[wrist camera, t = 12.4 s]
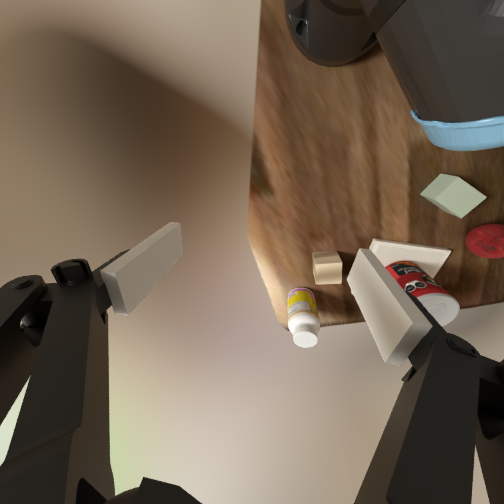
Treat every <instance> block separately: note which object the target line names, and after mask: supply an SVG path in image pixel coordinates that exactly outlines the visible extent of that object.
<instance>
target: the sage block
mask: <svg viewBox="0 0 504 504" xmlns="http://www.w3.org/2000/svg"><path fill="white" fill-rule="evenodd" d="M420 195H422V196H423V197H425V198H426V199H428V200H429V201H431V202H432V203H433V204H435V205H436V206H438V207H439V208H441V209H442V210H444V211H445V212H448V213H450V214H452V215H455V216H457V217H459V218H463V217H464V216H465V215H466V214H467V213H469V212H470V211H471V210H472V209H473V208H475V207H476V206H477V205H478V204H480V203H481V202H482V201H483V200H484V199H486V198H487V197H486V196H484V195H483V194H482V193H480V192H479V191H477V190H476V189H475V188H473V187H472V186H470V185H469V184H468V183H466V182H465V181H464V180H462V179H461V178H459V177H457V176H452V175H446V174H440V175H439V176H438V177H437V178H436V179H435V180H434V181H433V182H432V183H431V184H430V185H429V186H428V187H427V188H426V189H425V190H424V191H423V192H422V193H421V194H420Z"/></svg>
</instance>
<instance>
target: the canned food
mask: <svg viewBox="0 0 504 504" xmlns="http://www.w3.org/2000/svg"><path fill="white" fill-rule="evenodd" d="M385 268H386V269H387V270H388V272H389V273H390V274H391V275H392V277H393V278H394V279H395V280H396V281H397V283H398V284H399V285H400V286H401V288H402V289H403V290H404V291H408V292H410V293H411V294H412V295H414V296H415V297H416V298H418V300H419V301H420V302H421V303H422V304H423V307H425V308H426V309H427V310H428V313H430V314H431V315H432V316H433V317H434V318H435V319H436V321H437V322H438V323H439V324H440V325H441V326H444V325H447V324H448V323H450V322H451V321H452V320H454V319H455V318H456V316H457V315H458V313H459V310H460V307H459V304H458V302H457V301H456V300H455V299H454V298H453V297H452V296H451V295H450V294H449V293H448V292H447V291H446V290H445V289H444V288H443V287H441V286H440V285H439V284H438V283H437V282H436V281H435V280H434V279H433V278H431V277H430V276H429V275H428V274H427V273H426V272H425V271H424V270H423V269H421V268H420V267H419V266H418V265H417V264H415V263H412V262H409V261H397V262H394V263H391V264H389V265H388V266H386V267H385Z"/></svg>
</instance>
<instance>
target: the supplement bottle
mask: <svg viewBox="0 0 504 504" xmlns="http://www.w3.org/2000/svg"><path fill="white" fill-rule="evenodd" d="M288 327H289V330H290V332H291V333H292V334H293V339H294V342H295V344H296V345H298V346H300V347H304V348H309V347H312V346H314V345H316V344H317V341H318V337H317V333H318V332H319V330H320V321H319V316H318V311H317V306H316V301H315V297H314V294H313V293H312V291H310V290H309V289H307V288H303V287H299V288H295V289H293V290H291V291H290V292H289V294H288Z"/></svg>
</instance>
